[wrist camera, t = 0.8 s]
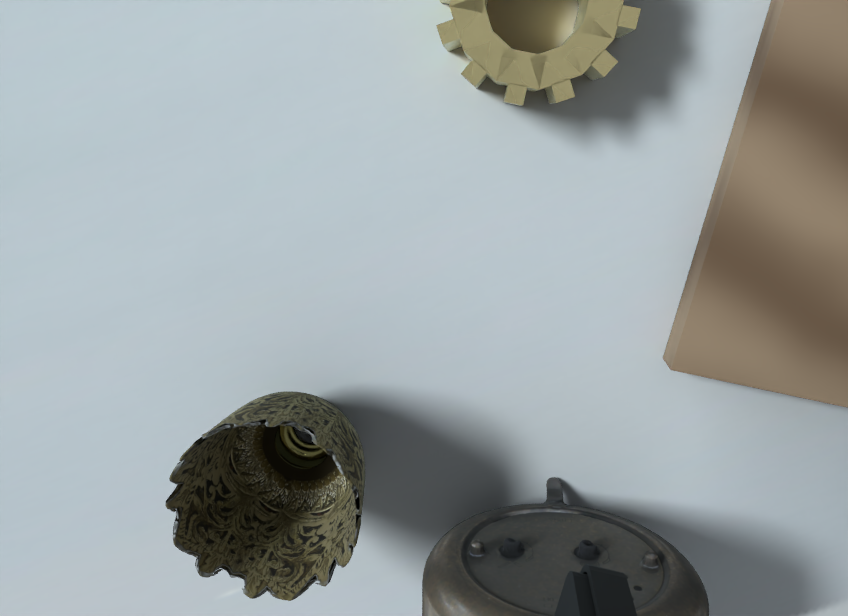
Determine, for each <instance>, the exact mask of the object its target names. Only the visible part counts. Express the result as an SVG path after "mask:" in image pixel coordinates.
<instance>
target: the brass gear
mask: <svg viewBox="0 0 848 616" xmlns="http://www.w3.org/2000/svg"><path fill="white" fill-rule="evenodd" d="M440 2H441V3H445V4H450V9H451V13H452V16H453V19H452V20H450V21H447V22H444V23H442V24H439V25H437V29H438V32H439V35H440V38H441V41H442V44H443V46H444V47H445V48H446V50H447V51H451V50H454V49H457V48H459V47H462V48H463V51H464V53H465V55H466V57H467V58H468V59H469V60H470V61H471V62H470V63H469V65H468V66H467V67H466V68H465V69H464V71H463V72H462V73H461V74H462V75H463V76H464V78H466V79H467V80H468V81H469V82H470V83H471V84H472V85H473V86H474V87H475V88H476V89H477V88H478V87H479V86H480V85H481V83H482V82H483V81H484V80H485V79H486V78H487V76H488V77H489V78H490V79H491V80H492V81H493V82H494V83H495V84H498V85H503V86H506V91H505V95H504V100H503V102H504V103H509V104H514V105H519V106H523V103H524V99H525V95H526V90H528V91H533V92H535V91H538V90H540V89H543V88H545V91H546V94H547V98H548V101H549V104H550V103H558V102H561V101H564V100H567V99H570V98H573V97H575V95H574V91H573V88H572V84H571V81H570V79H572V78H575V77H577V76H580V75H583V73H584V74H585V75H586V76H587V77H589V78H590V79H591V80H595V79H599V78H603V77H605V76H606V75H607V74H608V72H609V71H610V70H611V69H612V68H613V67H614V66H615V65H616V64H617V63H618V61H617V60H616V59H615V58H614V57H613V56H612V55H611V54H610V53H608V52H607V51H606V50H605V49H606V48H607V47H608V45H609V44H610V43H611V42H612V41H613V40H614V38H615V37H616V38H620V37H622V36H624V35H626V34H628V33H630V32H632V31H634V30H635V29H636V26H637V22H638V18H639V14H640V11H641V8H636V7H630V6H625V5H623V2H624V0H577V2H578V6H579V9H578V13H577V17H576V22H575V26H574V30H573V33H572V34H571V35H570V36H569V38H568V39H567V40H566V41H565V42H564V43H563V44H562V46H560V47H557V48H554V49H551V50H548V51H546V52H543V53H540V54H535V53H530V52H525V51H520V50H515V49H512V48H511V47H510V46H508V45H507V44H506V43H505V42H504V41H503V40H502V39H501V38H500V37H499V36H498V35H497V34H496V33H495V32H493V31H492V28H491V24H490V21H489V18H488V14H487V11H486V8H487V3H488V0H440Z"/></svg>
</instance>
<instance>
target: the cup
mask: <svg viewBox="0 0 848 616" xmlns="http://www.w3.org/2000/svg"><path fill="white" fill-rule="evenodd" d="M294 428H296V429H297V430H299V431H303V432H307V433H308V434H310V435H311V436H312V441H313V442H314V444H308V443H305V442H303V441H301V440H300V439H299V438H298V437H297V436H296V434H295V431H294ZM180 461H181V462H179V463H178V464H177V466H176V467H175V469H174V470H173V472H172V474H171V476H170V481H171V482H173V483H175V484H178V485H177V487H176V488H175V490H174V491H173V493H172V494H171V495H170V496H169V498H168V499H167V500H166V507H167V509H170V510H171V511H174V512H175V511H176V520H175V522H174V527H173V541H174V545H175V546H176V547H177V548H178V549H180V550H181V551H182V552H185V553H187V554H189V555H193V556H194V557H197V559H196V564H195V566H196V569H197V571H198V573H199V575H200V576H202V577H210V576H214V575H215V574H218V572H220V571H221V570H222V569H224V570H226V571H227V572H228V573H229V575H230V577H231V578H234V577H238V578H239V577H240V578H242V579H244V580H245V586H244V589H243V588H242V590H243V593H244V594H245V595H247V596H248V597H249V598H257V597H259V596H261V595H262V594H264V593H265V592H266V591H268V592H269V593H270V594H271V595H272V596H273V597H275V598H278V599H282V600H288V601H290V600H293V599H295V598H297V597H298V596H300V595H301V594H302V593H303V592H305V591H306V590H307V589H308V588H309V587H310V586H311V585H312V584H313V583H314V582H316V581H319V582H320V583H315V584H318V585H321V586H326V585H327V584H328V583H329V582H330V580H331V577H332V574H333V571H334V569H335V566H336V564H337V565H338V566H339V565H340V566H341V567H342V568H343V567H345V566H346V565H347V563H348V562H349V560H350V558H351V556H352V554H353V547H354V548H355V546H356V543H357V540H358V535H359V530H360V525H361V515H362V505H363V496H364V484H365V460H364V454H363V449H362V445H361V442H360V439H359V437H358V434H357V432H356V431H355V429H354V427H353V426H352V424H351V423H350V421H349V420H348V419H347V418H346V416H345V415H344V414H343V413H342V412H341V411H340V410H339V409H337V408H336V407H335V406H333V405H332V404H331V403H329V402H327V401H325V400H324V399H321V398H319V397H317V396H314V395H311V394H306V393H301V392H278V393H273V394H269V395H266V396H263V397H260V398H257V399H255V400H253V401H251V402H249V403H247V404H246V405H244V406H242V407H241V408H239V409H238V410H236V411H235V412H233V413H232V414H231V415H229V416H228V417H227V418H225V419H224V420H223V421H221V422H220V423H219V424H218V425H216V426H215V427H214V428H212V429H211V430H210V431H208V432H207V433H205V434H203V435H202V437H201V438H200V439H198V440H197V441H196V442H195V443H194V444H193V445H192V446H191V447H190V448H189V449H188V450H187V451H186V452H185V453H184V454H183V455H182V456H181V458H180ZM219 568H222V569H219ZM217 569H219V570H217ZM216 570H217V571H216ZM213 573H214V574H213Z"/></svg>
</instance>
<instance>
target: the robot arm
mask: <svg viewBox="0 0 848 616" xmlns="http://www.w3.org/2000/svg"><path fill="white" fill-rule="evenodd" d="M554 616H637V613H636V609H635V606H634V602H633V599H632V595H631V591H630V588H629V584H628V581H627V578H626V575H625V574H624V573H623V572H619V571H615V570H611V569H606V568H602V567H598V566H594V565H589V564H585V565H584V566H583V568H582V569H581V572H580V573H579V572H574V571H569V573H568V574H567V576H566V579H565V582H564V585H563V589H562V592H561V595H560V598H559V602H558V605H557V608H556V611H555V614H554Z"/></svg>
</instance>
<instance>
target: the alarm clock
mask: <svg viewBox="0 0 848 616" xmlns="http://www.w3.org/2000/svg"><path fill="white" fill-rule="evenodd" d="M546 485H547V500H546V502H545V503H544V504H525V505H516V506H509V507H503V508H498V509H494V510H490V511H487V512H484V513H481V514H478V515H475V516H473V517H471V518H469V519H467V520H465V521H463V522H461V523H460V524H458V525H457V526H455V527H454V528H452V529H451V530H450V531H449V532H448V533H447V534H445V535H444V536H443V537H442V538H441V539H440V540H439V542H438V543H437V544H436V545H435V547H434V548H433V550H432V551H431V553H430V555H429V557H428V559H427V562H426V564H425V568H424V573H423V582H422V602H423V604H422V616H554V614H555V611H556V608H557V605H558V602H559V598H560V595H561V592H562V589H563V585H564V582H565V579H566V576H567V574H568V573H569V571H574V572H579V573H580V572H581V569H582V568H583V566H584V565H585V564H589V565H594V566H598V567H602V568H606V569H611V570H615V571H619V572H623V573H624V574H625V575H626V578H627V581H628V584H629V588H630V591H631V595H632V599H633V602H634V606H635V609H636V613H637V616H709V604H708V598H707V594H706V590H705V588H704V585H703V583H702V581H701V579H700V577H699V576H698V574H697V572H696V571H695V569H694V568H693V566H692V565H691V564H690V563H689V561H688V560H687V559H686V558H685V557H684V556H683V555H682V554H681V553H680V552H679V551H678V550H677V549H676V548H675V547H674V546H672V545H671V544H670V543H668V542H667V541H666V540H664V539H663V538H662V537H660V536H659V535H657V534H655V533H654V532H652V531H650V530H648V529H647V528H645V527H643V526H641V525H639V524H636V523H634V522H632V521H629V520H627V519H624V518H621V517H619V516H616V515H613V514H610V513H606V512H602V511H599V510H594V509H589V508H584V507H577V506H570V505H566V504H564V502H563V493H562V485H561V483H560V481H559V480H558V479H557V478H549V479H548V480H547V484H546Z"/></svg>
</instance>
